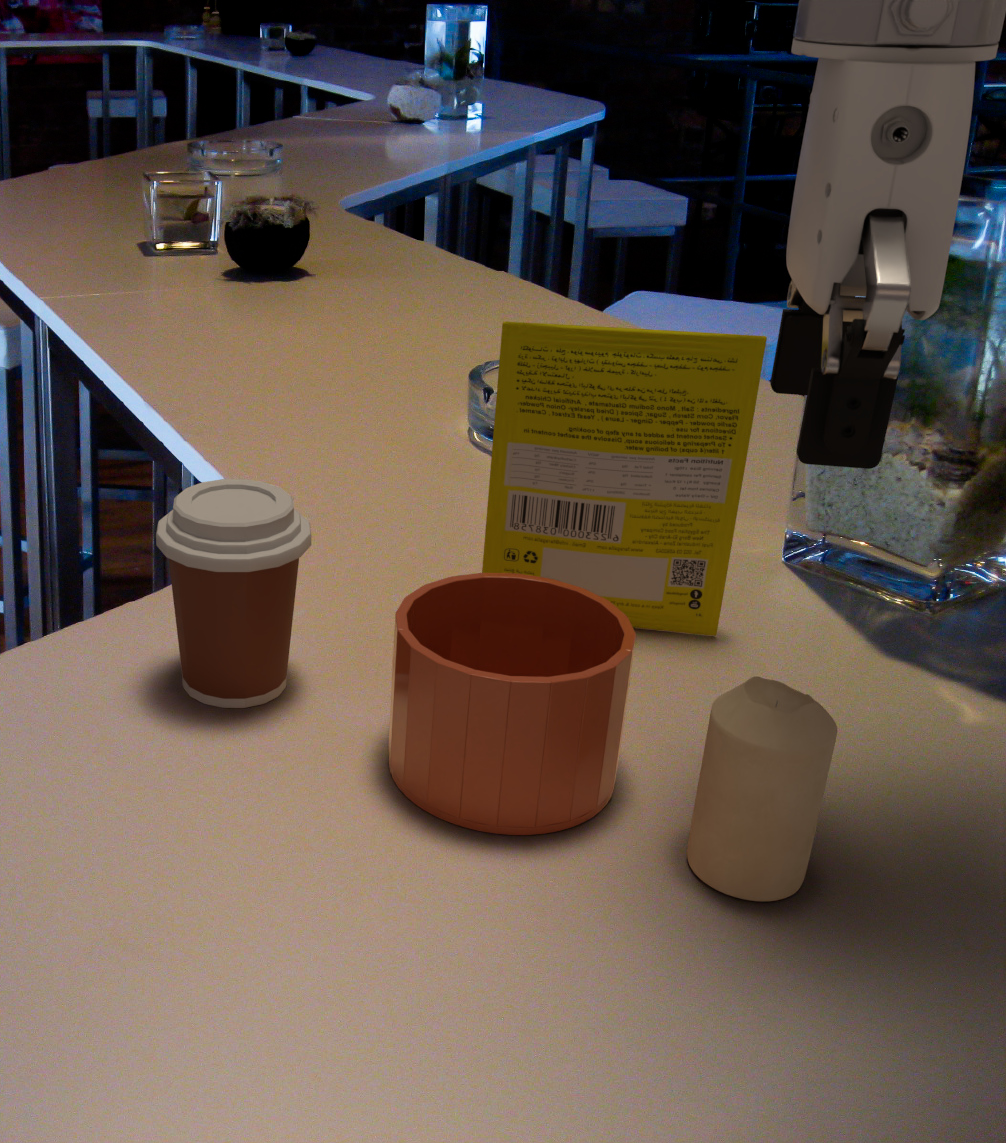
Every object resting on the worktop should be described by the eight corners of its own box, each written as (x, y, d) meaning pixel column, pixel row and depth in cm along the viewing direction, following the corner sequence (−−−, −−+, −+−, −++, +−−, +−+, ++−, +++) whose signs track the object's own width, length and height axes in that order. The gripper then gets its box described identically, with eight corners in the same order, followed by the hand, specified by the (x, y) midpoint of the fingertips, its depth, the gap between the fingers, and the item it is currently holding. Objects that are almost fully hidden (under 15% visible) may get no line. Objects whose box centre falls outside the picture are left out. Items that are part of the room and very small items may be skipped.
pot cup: (504, 689, 81) (517, 554, 77) (662, 785, 72) (686, 638, 68) (344, 750, 75) (349, 608, 71) (494, 864, 66) (509, 707, 62)
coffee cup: (295, 728, 77) (298, 538, 72) (142, 711, 79) (135, 524, 74) (319, 653, 85) (323, 477, 80) (180, 639, 87) (176, 466, 82)
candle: (823, 866, 66) (863, 690, 61) (772, 919, 62) (811, 737, 58) (718, 819, 69) (749, 649, 65) (664, 867, 66) (694, 691, 61)
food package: (715, 632, 88) (766, 334, 79) (716, 640, 87) (768, 339, 78) (479, 608, 91) (503, 319, 82) (478, 616, 90) (502, 323, 81)
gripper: (1070, 31, 45) (954, 505, 52) (950, 6, 60) (873, 376, 67) (830, 29, 46) (751, 489, 54) (772, 5, 61) (717, 366, 69)
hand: (819, 426), depth 60 cm, fingers open, 9 cm apart
